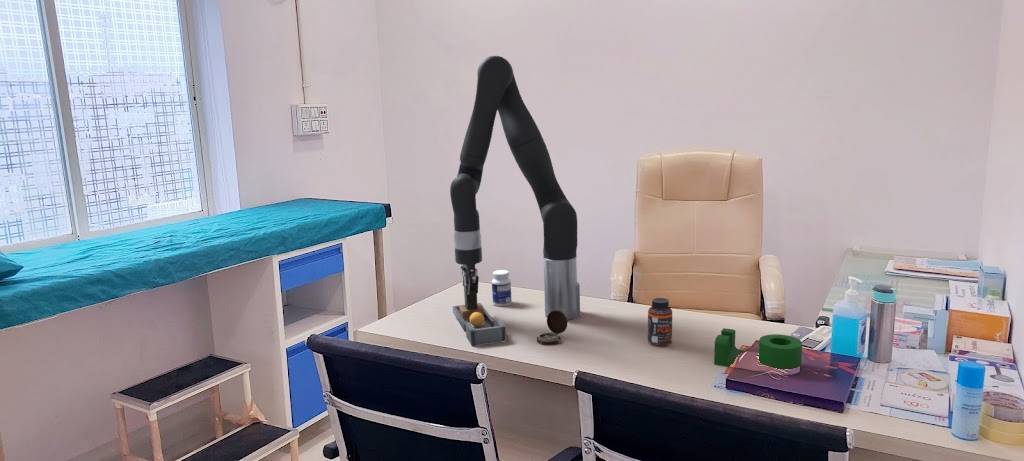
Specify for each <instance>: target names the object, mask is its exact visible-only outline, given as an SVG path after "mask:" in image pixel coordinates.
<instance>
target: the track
mask: <svg viewBox="0 0 1024 461" xmlns="http://www.w3.org/2000/svg"><path fill="white" fill-rule="evenodd" d="M477 304H480V305H481V306H482V308H483V309H484V321H486V323H487V324H488V325H489V327H495V319H493V317H492V316H491V314H490V313H489V312H488V311H487V310H486V307H484V305H483V304H482V303H481V302H477ZM459 306H465V304H461V305H460V304H459V305H452V313H453V315H454V317H455V318H456V320H457V322H458V324H459V325H460V326H461V328H462V330H463V331H464V333H466V323H465V322H466V321H465V320H464V319H463V317H462V316H461V314H460V311H459Z"/></svg>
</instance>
